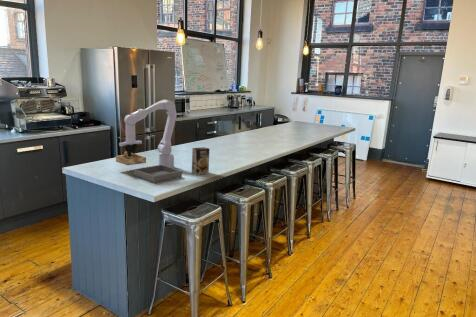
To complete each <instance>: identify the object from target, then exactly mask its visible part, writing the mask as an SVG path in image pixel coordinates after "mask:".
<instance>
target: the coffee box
mask: <svg viewBox="0 0 476 317" xmlns="http://www.w3.org/2000/svg"><path fill="white" fill-rule="evenodd" d="M191 151H192V153H191V154H192V156H191V157H192V158H191V173H192V174H194V175H195V176H199V175H200V174H201V175H207V173H208V174H210V172H209V171H210V169H209V168H210V148H208V147H205V146H204V147H203V146H202V147H192V150H191Z"/></svg>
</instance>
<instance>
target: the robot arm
mask: <svg viewBox="0 0 476 317" xmlns="http://www.w3.org/2000/svg"><path fill="white" fill-rule="evenodd" d="M158 110H163V111H165V113H166V114H167V118H166V123H165V126H164V132H163V137H162V138H161V140H160V141H159V144H158V146H157V151H158V165H165V166H168V167H171V168H174V169H175V156H174V154H173V153H172V141H171V140H172V136H173V133H174V128H175V124H176V119H177V116H178V114H177V111H176V104H175V103H174V101H172V100H169V99H166V98H165V99H164V98H163V99H161V100H159V101H157V102H155V103H153V104H151V105H150V106H148V107H147V108H144V109H143V108H138V109H137V111H134V112H131V113H130V114H126V115H125V117H124V119H123V122H124V123H125V141H123V142H119V143H118V146H119V147H124V149H125V152H126V151H127V154H128V157H131V153H133V154H136V150H137V148H138V147H139V146H138V145H142V144H143V142H142V140H136V123H137V122H140V121H141V120H144V119H145V118H147V116H148V115H149V114H151V113H153V112H155V111H158Z"/></svg>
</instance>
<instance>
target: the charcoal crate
mask: <svg viewBox="0 0 476 317" xmlns="http://www.w3.org/2000/svg"><path fill="white" fill-rule="evenodd" d="M182 172H183V170H180V169H176V168H175V167H174V168H171V167H168V166H165V165H159V164H157V165H152V166H146V167H140V168H134V169H133V176H134V177H136V178H138V179H142V180H143V181H144V180H145V181H146V182H149V183H152V184H157V183H162V182H167V181H171V180H175V179H181V178H182V177H183V173H182Z"/></svg>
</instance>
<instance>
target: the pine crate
mask: <svg viewBox="0 0 476 317" xmlns="http://www.w3.org/2000/svg"><path fill="white" fill-rule="evenodd" d="M115 162H117V163H120V164H123V165H125V166H133V165H141V164H147V157H146V156H143V155H139V154H136V153H135V154H133V153H131V157H128V154H127V151H126V150H125V151H124V152H123V154H121V155H115Z"/></svg>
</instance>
